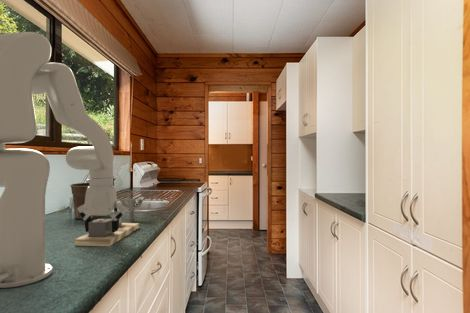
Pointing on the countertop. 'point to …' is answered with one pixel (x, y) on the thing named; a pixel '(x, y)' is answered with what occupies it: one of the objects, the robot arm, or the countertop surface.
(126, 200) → the mechanical component
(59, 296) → the countertop surface
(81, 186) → the plant pot
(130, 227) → the light wood flat block
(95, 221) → the grey and orange block
